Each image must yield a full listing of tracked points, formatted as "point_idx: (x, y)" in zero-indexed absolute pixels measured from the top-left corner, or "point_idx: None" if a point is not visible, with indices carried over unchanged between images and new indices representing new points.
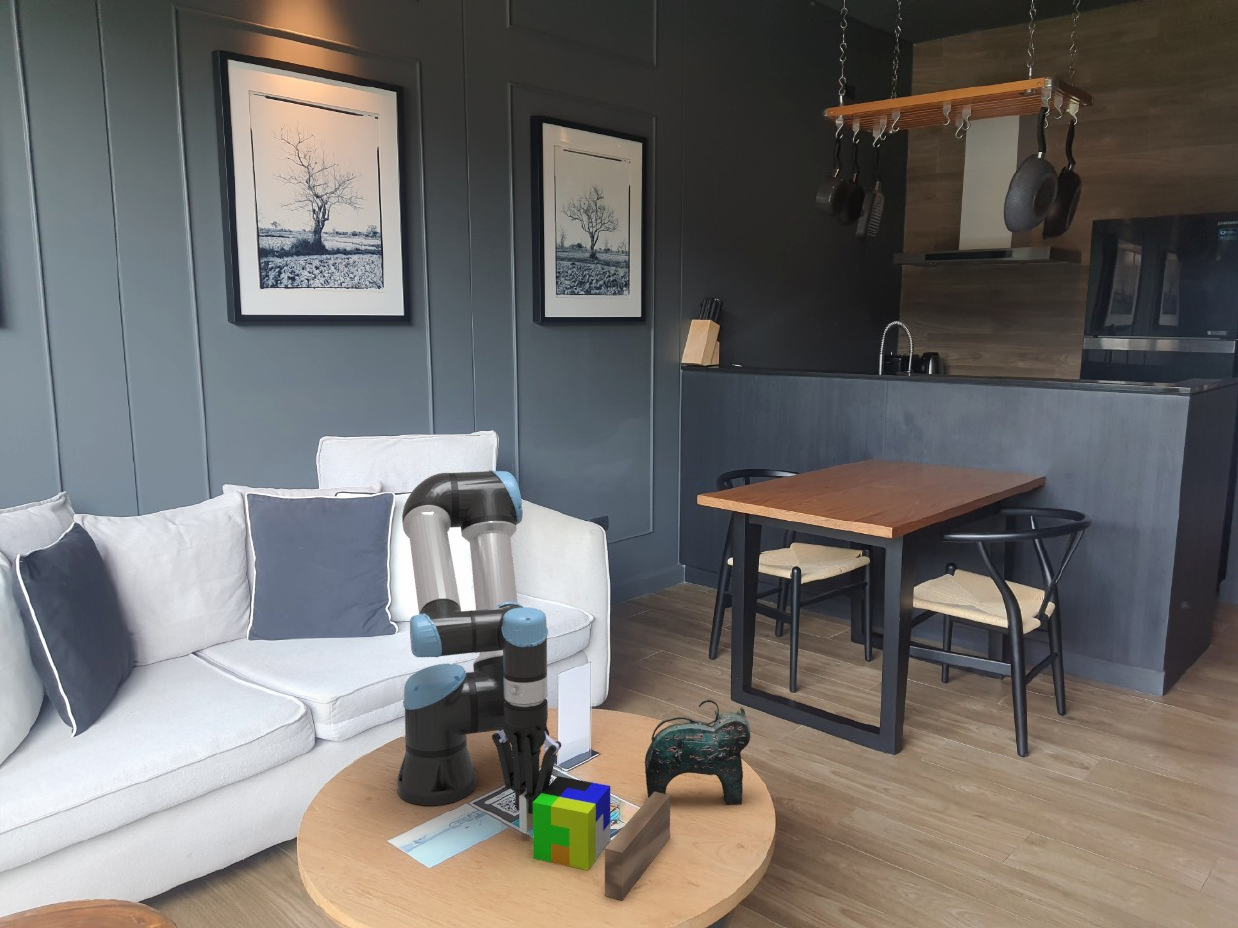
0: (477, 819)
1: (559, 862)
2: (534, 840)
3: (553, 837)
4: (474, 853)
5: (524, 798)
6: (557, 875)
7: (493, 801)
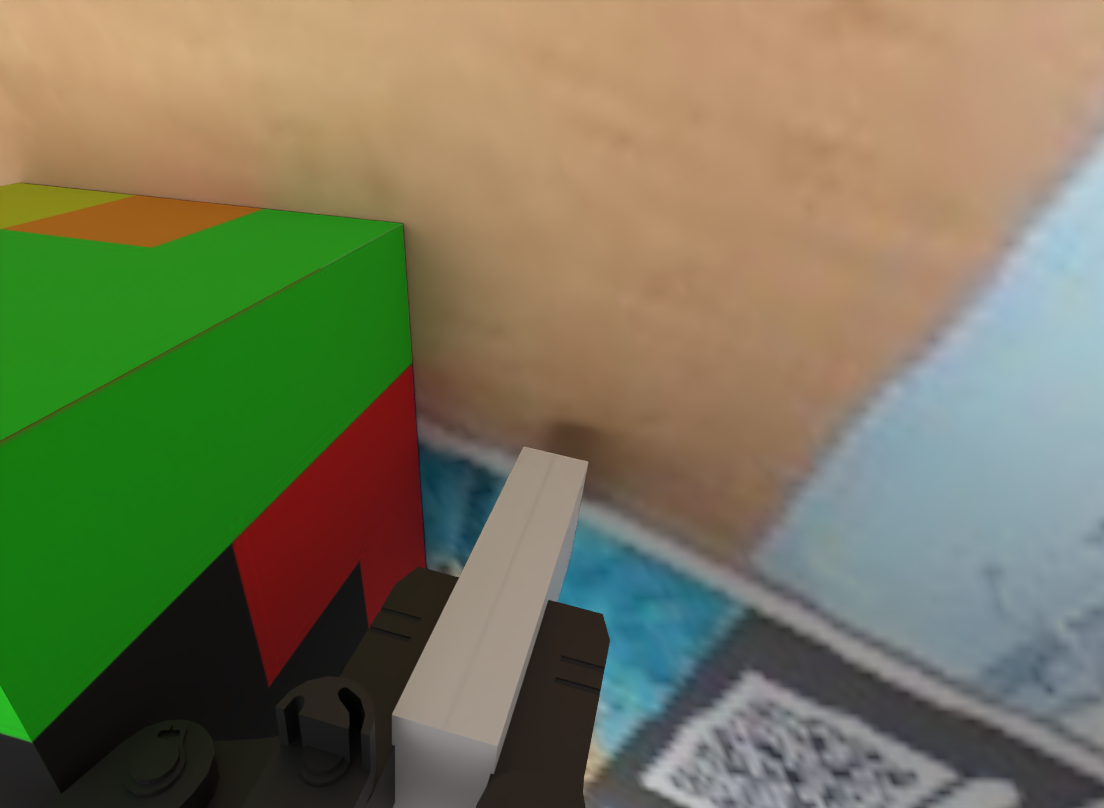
0: (1032, 622)
1: (198, 204)
2: (309, 263)
3: (77, 262)
4: (939, 146)
5: (426, 705)
6: (131, 46)
7: (952, 798)
